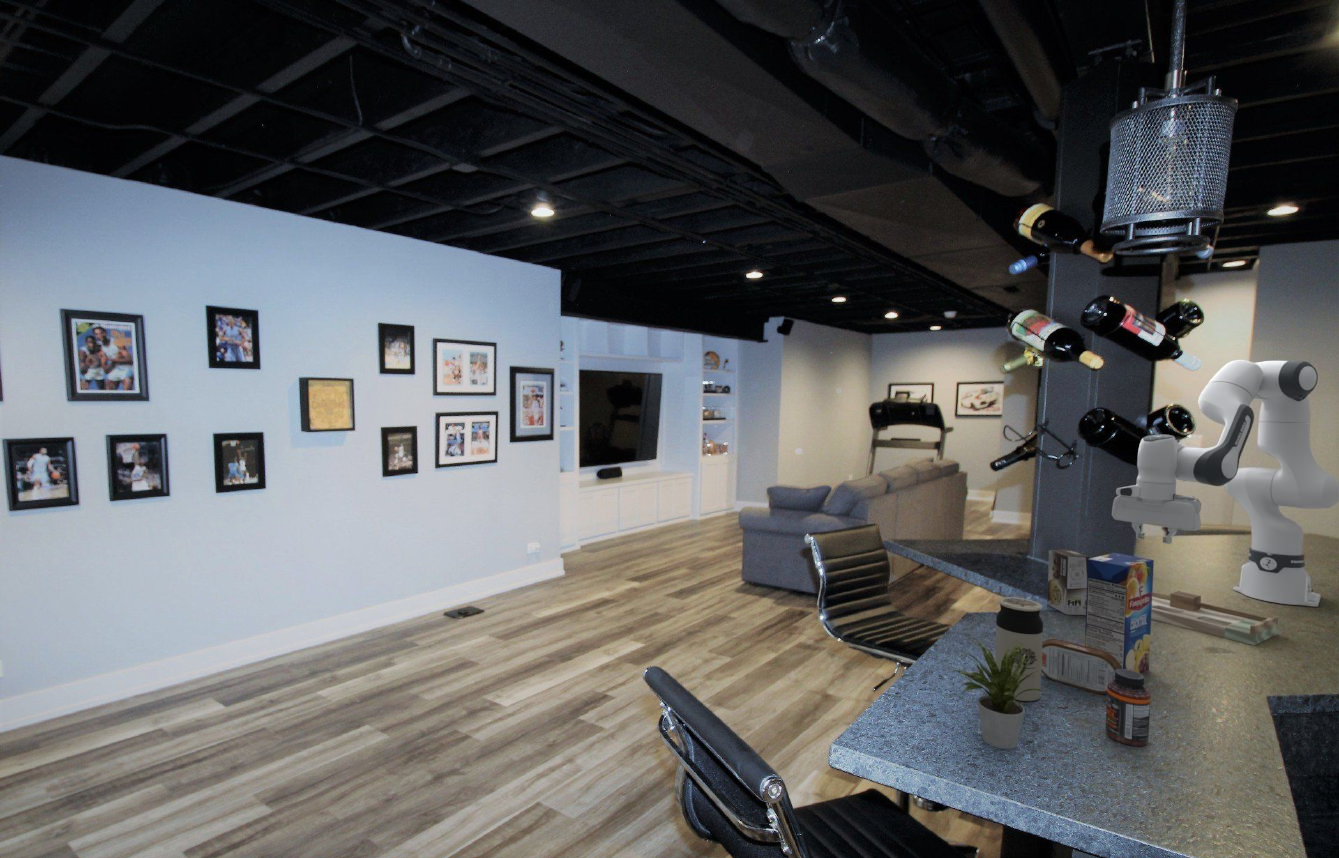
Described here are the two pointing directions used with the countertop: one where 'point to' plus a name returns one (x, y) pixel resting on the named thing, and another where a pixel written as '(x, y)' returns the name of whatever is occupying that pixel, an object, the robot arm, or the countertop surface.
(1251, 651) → the countertop surface
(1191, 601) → the walnut block
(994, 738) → the house plant
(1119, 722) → the supplement bottle
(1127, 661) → the juice carton
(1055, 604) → the coffee box
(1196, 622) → the box
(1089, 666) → the tin
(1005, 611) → the travel mug
